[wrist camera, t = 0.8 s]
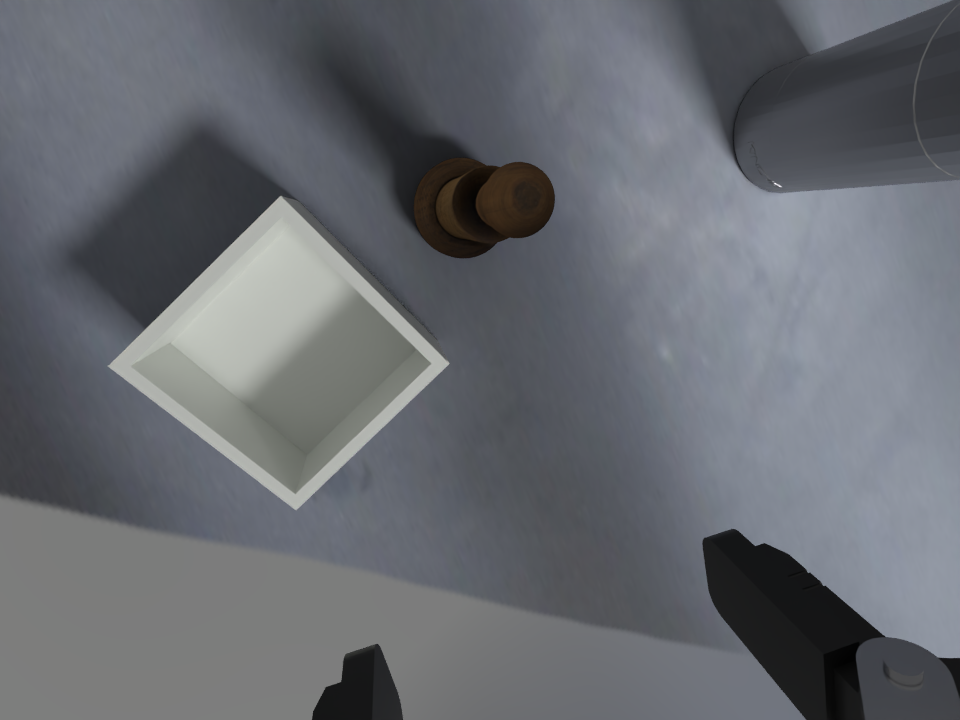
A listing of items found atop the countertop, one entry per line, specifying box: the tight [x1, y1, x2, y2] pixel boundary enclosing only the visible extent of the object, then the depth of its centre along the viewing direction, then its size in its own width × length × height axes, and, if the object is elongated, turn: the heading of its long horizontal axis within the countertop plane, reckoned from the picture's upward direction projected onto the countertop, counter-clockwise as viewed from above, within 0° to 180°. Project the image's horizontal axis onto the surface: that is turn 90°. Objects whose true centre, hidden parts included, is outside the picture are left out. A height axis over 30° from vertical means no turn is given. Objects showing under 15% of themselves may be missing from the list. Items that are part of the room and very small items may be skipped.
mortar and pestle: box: [414, 158, 555, 258], centre depth 29 cm, size 7×6×18 cm
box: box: [108, 196, 450, 510], centre depth 35 cm, size 14×14×7 cm
